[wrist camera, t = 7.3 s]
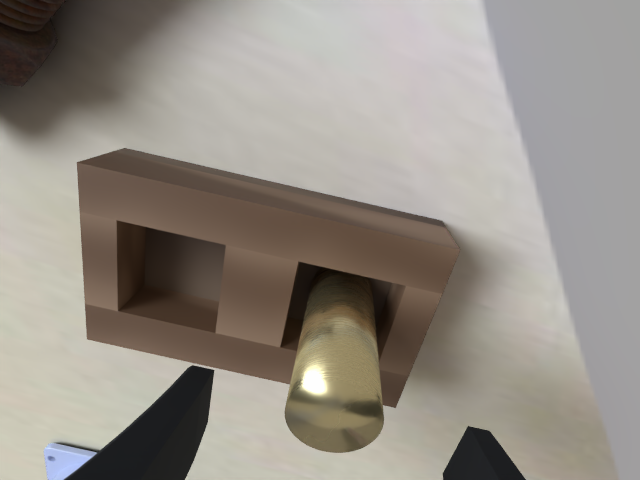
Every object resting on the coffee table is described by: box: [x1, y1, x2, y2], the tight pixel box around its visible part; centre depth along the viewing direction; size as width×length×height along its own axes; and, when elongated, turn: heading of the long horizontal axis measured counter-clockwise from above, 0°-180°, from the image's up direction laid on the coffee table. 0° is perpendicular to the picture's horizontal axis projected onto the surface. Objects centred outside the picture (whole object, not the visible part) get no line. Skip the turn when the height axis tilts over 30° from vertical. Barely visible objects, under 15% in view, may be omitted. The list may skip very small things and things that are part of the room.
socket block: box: [77, 148, 460, 408], centre depth 16 cm, size 8×14×3 cm, turn 78°
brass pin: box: [285, 267, 384, 453], centre depth 14 cm, size 3×3×7 cm
